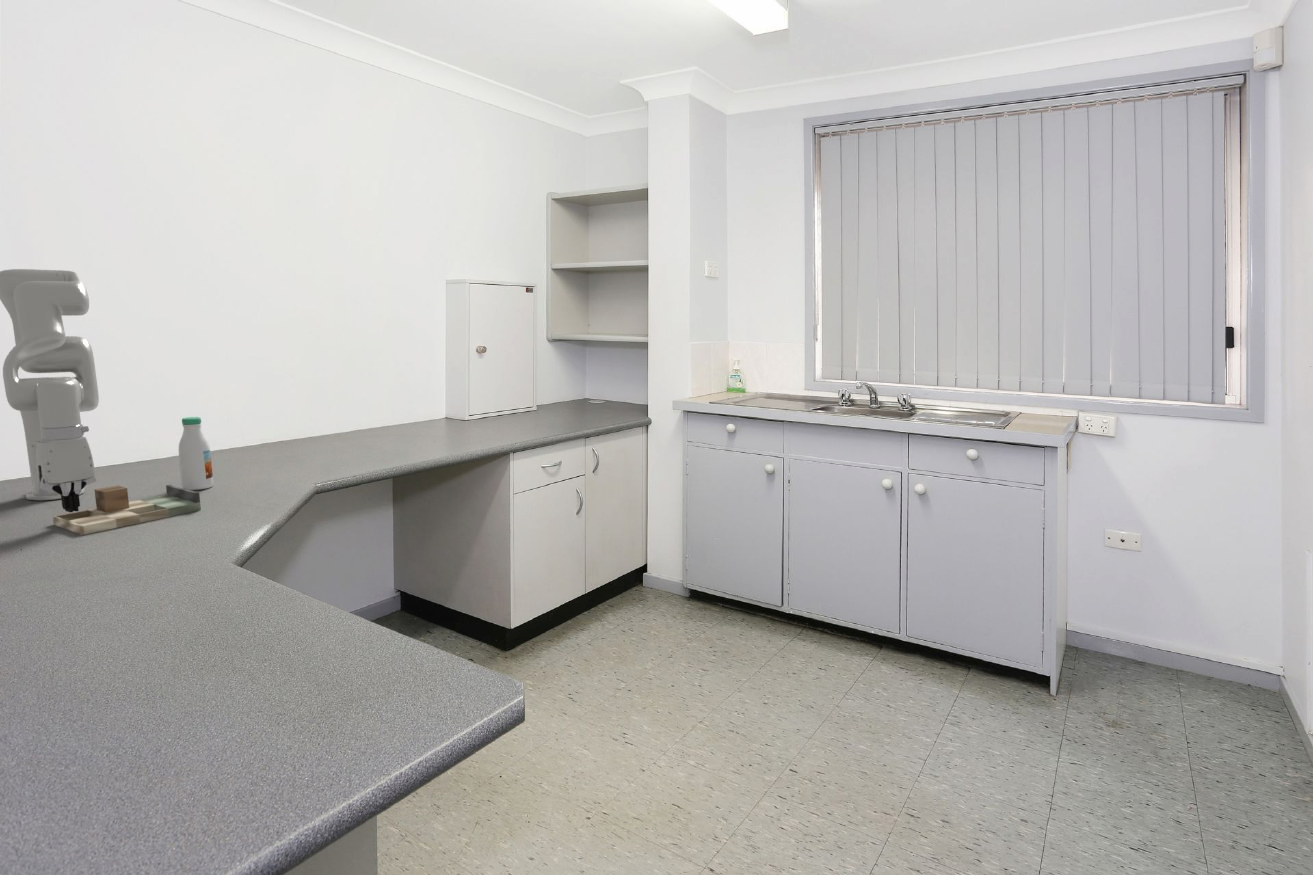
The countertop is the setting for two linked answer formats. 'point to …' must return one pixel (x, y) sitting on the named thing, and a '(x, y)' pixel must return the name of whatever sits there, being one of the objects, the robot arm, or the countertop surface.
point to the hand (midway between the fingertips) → (71, 510)
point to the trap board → (131, 512)
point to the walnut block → (111, 498)
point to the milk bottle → (194, 456)
